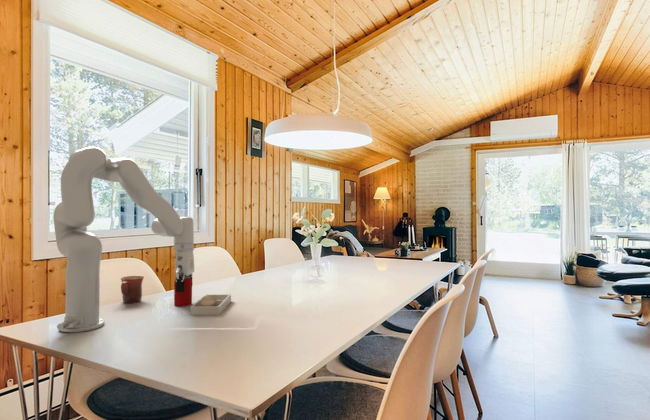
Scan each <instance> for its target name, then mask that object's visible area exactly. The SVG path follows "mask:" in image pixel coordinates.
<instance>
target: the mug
mask: <svg viewBox="0 0 650 420" xmlns="http://www.w3.org/2000/svg"><path fill="white" fill-rule="evenodd" d="M144 278H145V276H143V275H129V276H122V277H120V282H121V285H120V292H121V295H122V302H123V303H125V304H134V303H135V302H136V303H139V302H140V301H141V300H142V297H143V281H144Z"/></svg>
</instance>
